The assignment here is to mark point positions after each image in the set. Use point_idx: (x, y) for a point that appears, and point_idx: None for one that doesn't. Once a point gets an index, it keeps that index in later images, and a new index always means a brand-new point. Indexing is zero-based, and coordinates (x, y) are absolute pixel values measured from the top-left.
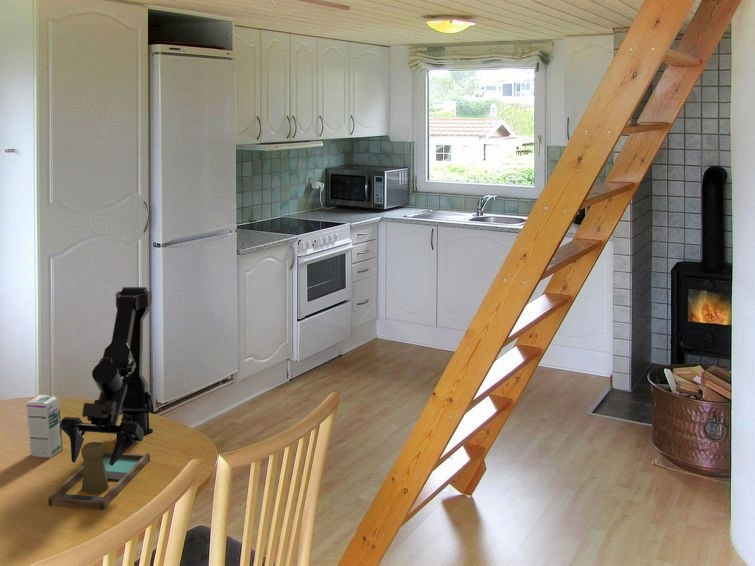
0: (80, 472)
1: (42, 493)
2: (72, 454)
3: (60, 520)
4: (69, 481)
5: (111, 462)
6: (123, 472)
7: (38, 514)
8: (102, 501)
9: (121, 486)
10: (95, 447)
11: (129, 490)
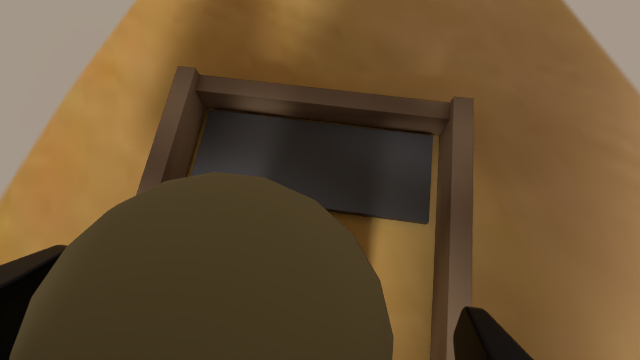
0: None
1: (558, 243)
2: (516, 354)
3: (346, 9)
4: (446, 307)
5: (46, 250)
6: None
7: (459, 46)
8: (178, 66)
9: None
10: (113, 232)
11: None
